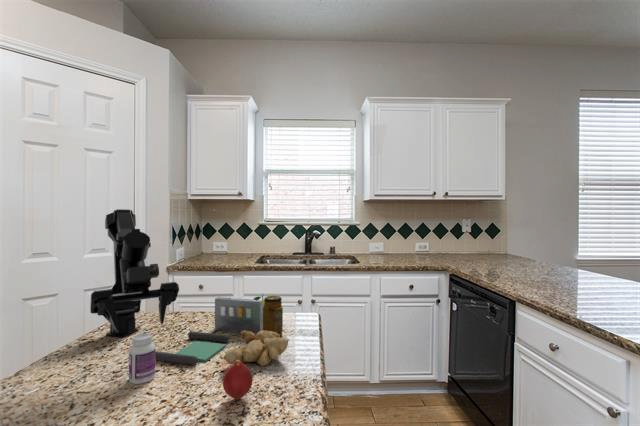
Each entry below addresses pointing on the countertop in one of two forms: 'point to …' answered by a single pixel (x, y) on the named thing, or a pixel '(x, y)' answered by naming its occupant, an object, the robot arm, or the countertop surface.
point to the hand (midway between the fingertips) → (140, 327)
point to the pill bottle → (142, 359)
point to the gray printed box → (238, 315)
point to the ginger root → (258, 348)
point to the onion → (237, 380)
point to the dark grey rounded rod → (176, 358)
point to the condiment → (273, 315)
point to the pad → (202, 350)
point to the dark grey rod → (208, 336)
